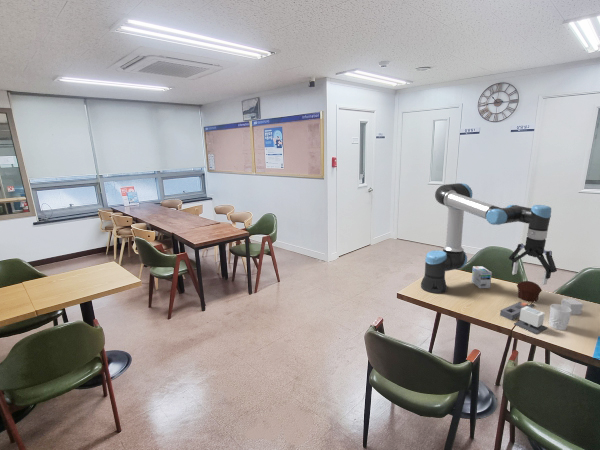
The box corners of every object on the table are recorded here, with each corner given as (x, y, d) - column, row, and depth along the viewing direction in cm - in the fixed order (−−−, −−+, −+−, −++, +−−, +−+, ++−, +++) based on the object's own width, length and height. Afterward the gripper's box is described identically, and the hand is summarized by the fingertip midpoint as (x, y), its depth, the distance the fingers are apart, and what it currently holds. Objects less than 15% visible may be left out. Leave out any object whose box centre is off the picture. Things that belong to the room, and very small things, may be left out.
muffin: (540, 297, 184) (542, 281, 182) (540, 305, 176) (542, 288, 173) (515, 292, 191) (517, 276, 189) (514, 299, 182) (516, 283, 180)
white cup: (543, 322, 158) (546, 304, 156) (557, 321, 159) (561, 303, 157) (556, 331, 151) (560, 312, 148) (572, 330, 151) (576, 311, 149)
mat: (513, 324, 158) (513, 323, 157) (524, 319, 162) (525, 317, 162) (536, 334, 149) (536, 333, 149) (547, 328, 154) (547, 327, 153)
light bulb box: (490, 288, 197) (492, 272, 195) (479, 288, 197) (481, 272, 195) (481, 281, 208) (482, 265, 205) (470, 281, 208) (472, 266, 205)
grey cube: (569, 314, 165) (571, 304, 164) (560, 309, 171) (561, 298, 170) (580, 314, 165) (582, 304, 164) (571, 308, 171) (573, 298, 170)
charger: (518, 322, 158) (521, 308, 156) (524, 320, 160) (526, 305, 158) (536, 330, 151) (539, 315, 149) (542, 327, 153) (544, 312, 151)
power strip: (499, 315, 166) (500, 309, 165) (527, 303, 178) (528, 297, 177) (511, 320, 161) (512, 314, 160) (539, 307, 173) (540, 301, 172)
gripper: (504, 232, 160) (498, 271, 165) (563, 246, 138) (553, 290, 144) (513, 230, 163) (507, 268, 169) (571, 243, 142) (562, 287, 147)
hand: (528, 278), depth 156 cm, fingers open, 13 cm apart
